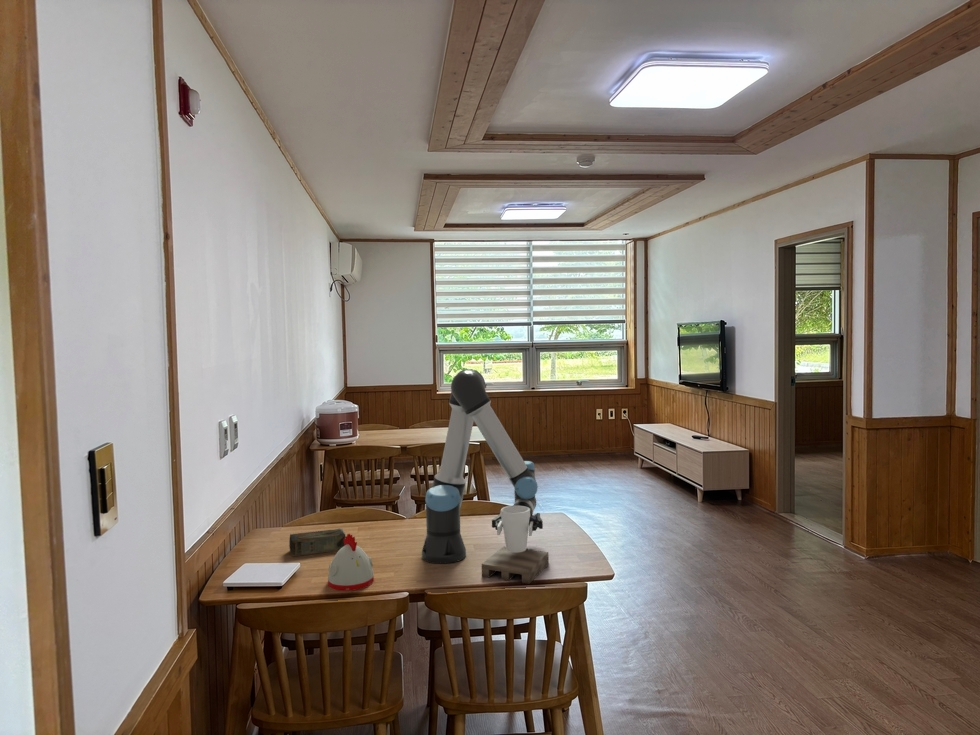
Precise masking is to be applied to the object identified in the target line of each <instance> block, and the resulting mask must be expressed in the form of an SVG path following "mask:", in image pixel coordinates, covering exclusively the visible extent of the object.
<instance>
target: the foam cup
mask: <svg viewBox="0 0 980 735" xmlns="http://www.w3.org/2000/svg"><path fill="white" fill-rule="evenodd" d="M500 513H501V518H502V524H503V527H502V528H503V529H502V531H503V535H504V542H505V547H506V548H507V551H509V552H514V553H515V552H523V551H525V550H526V549H527V545H528V538H529V537H528V536H529V519H530V508H529V507H526V506H519V505H517V506H513V505H507V506H503V507H501V509H500Z"/></svg>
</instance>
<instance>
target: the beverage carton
mask: <svg viewBox="0 0 980 735" xmlns="http://www.w3.org/2000/svg"><path fill="white" fill-rule="evenodd" d="M345 536H346V533H345V532H344V529H343V528H335V529H327V530H315V531H308V532H306V531H305V532H300V533H299V532H298V533H293V534H291V533H290V534H289V545H288V546H289V552H290V557H291V558H294V557H301V556H307V555H308V556H309V555H315V554H322V553H323V554H325V553H330V552H331V553H332V552H338V551H339V550H340V549H341V548H342V547H343V546H345V545H344V539H345Z"/></svg>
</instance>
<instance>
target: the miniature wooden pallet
mask: <svg viewBox="0 0 980 735" xmlns="http://www.w3.org/2000/svg"><path fill="white" fill-rule="evenodd" d="M548 566H549V551H541V550H534V549H527V548H526V550H525V551H523V552H515V553H514V552H509V551H507V548H506V545H505V546H502V547H501V548H500V549H498V551H496V552H495V553H494V554H492V555H490V557H489V558H487V559H486V560H484V562H482V563H481V577H484V578H490V577H491V576H492V575H493V574H495V573H496V572H501V580H503V581H510V580H511V579H512V578H513V577H515V576H516V575H521V583H522V584H528V585H529V584H531V583H532V581H533V580H535V579H536V578H537V577H538V576H539V575H540V574H541V573H542V572H543V570H545V568H546V567H548Z"/></svg>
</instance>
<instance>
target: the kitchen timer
mask: <svg viewBox="0 0 980 735" xmlns="http://www.w3.org/2000/svg"><path fill="white" fill-rule="evenodd" d="M357 543H358V541H356V537H355V536H353V534H351V533H347V535H345V539H344V545H345V546H343V547H342V548H341V549H340V550H338V551H336V553H335V555H334V557H333V559H332V561H331V562H329V565H328V577H327V585H328V587H329V588H330V589H332V590H335V591H340V592H341V591H345V592H347V591H349V592H351V591H356V590H361V589H365V588H367V587H369V586H370V585H372V584H373V582H375V578H374V575H375V574H374V570H373V561H372V557H371V556H368V555H367V553H366V552H365V551H364V550H363V548H362V547H360V546H358V544H357Z"/></svg>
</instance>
